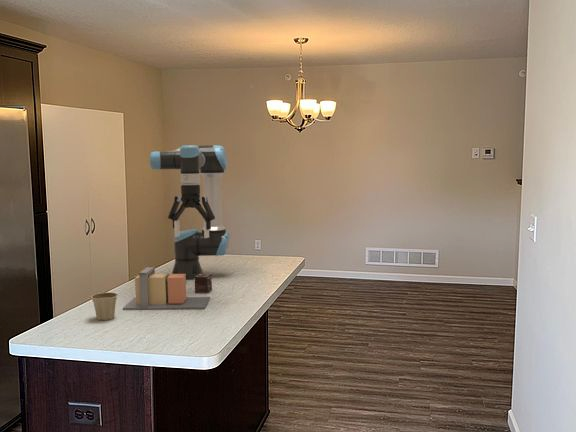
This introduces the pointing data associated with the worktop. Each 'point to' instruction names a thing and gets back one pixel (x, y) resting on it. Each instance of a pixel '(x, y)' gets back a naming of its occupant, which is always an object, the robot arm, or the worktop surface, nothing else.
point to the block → (176, 288)
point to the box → (203, 283)
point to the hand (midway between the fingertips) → (191, 237)
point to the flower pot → (104, 305)
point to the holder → (158, 294)
